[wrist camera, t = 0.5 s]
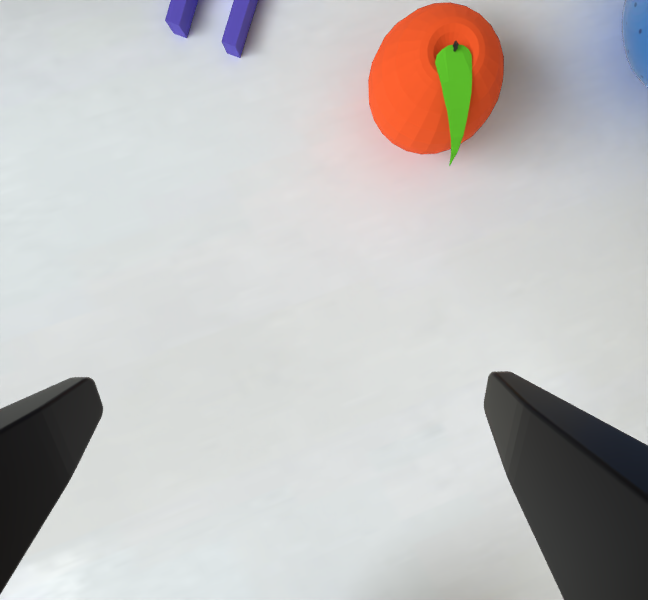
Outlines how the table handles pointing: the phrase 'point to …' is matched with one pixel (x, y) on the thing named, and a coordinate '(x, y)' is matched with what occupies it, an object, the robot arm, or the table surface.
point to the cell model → (636, 37)
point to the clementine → (436, 78)
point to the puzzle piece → (235, 29)
